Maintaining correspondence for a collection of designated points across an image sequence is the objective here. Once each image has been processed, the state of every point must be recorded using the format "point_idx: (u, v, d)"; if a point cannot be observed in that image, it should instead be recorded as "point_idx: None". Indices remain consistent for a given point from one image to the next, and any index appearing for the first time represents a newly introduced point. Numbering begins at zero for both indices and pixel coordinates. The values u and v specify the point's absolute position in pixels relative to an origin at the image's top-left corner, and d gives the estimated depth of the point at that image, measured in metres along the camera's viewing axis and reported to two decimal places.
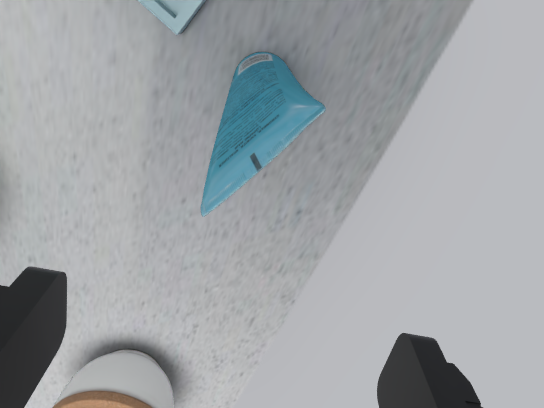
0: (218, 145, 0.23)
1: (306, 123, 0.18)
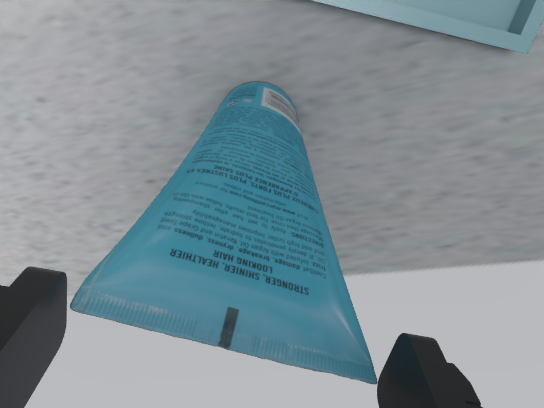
0: (190, 202, 0.13)
1: (340, 370, 0.10)
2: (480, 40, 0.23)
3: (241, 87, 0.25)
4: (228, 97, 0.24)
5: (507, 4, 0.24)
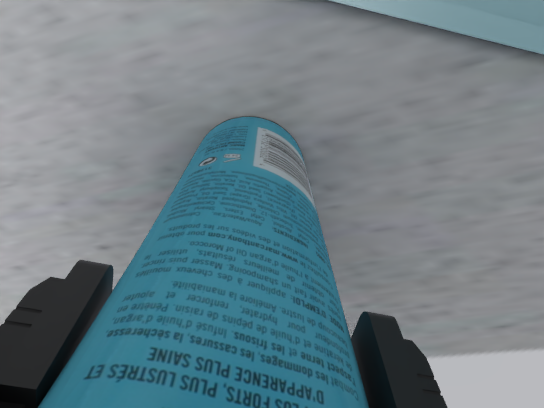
0: None
1: None
2: None
3: (225, 127, 0.17)
4: (205, 143, 0.16)
5: None
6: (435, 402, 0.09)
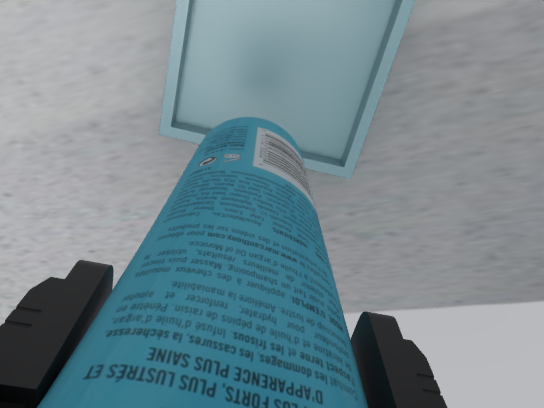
0: None
1: None
2: (316, 170, 0.33)
3: (225, 127, 0.17)
4: (205, 143, 0.16)
5: (338, 142, 0.33)
6: (435, 402, 0.09)
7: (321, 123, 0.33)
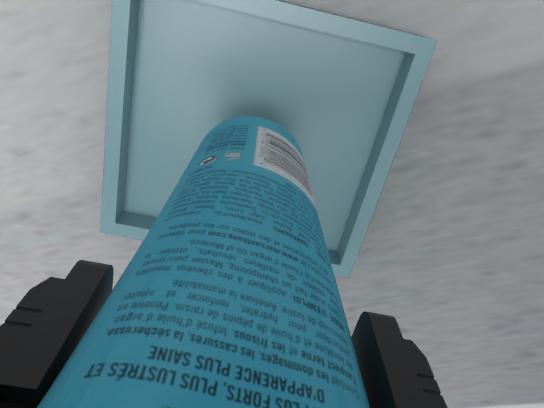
0: None
1: None
2: None
3: (225, 126, 0.17)
4: (206, 142, 0.16)
5: (333, 231, 0.26)
6: (435, 402, 0.09)
7: None
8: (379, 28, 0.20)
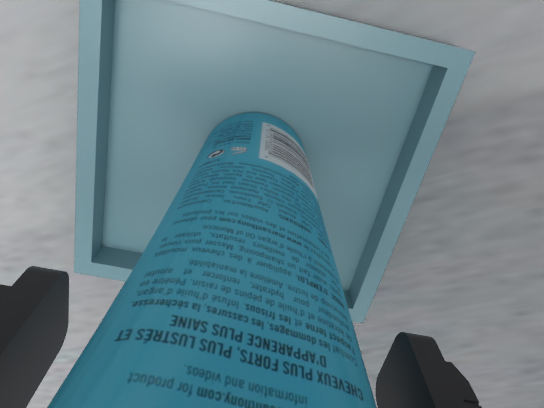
0: None
1: None
2: None
3: (231, 122, 0.18)
4: (212, 137, 0.17)
5: (344, 269, 0.23)
6: None
7: None
8: (405, 37, 0.16)
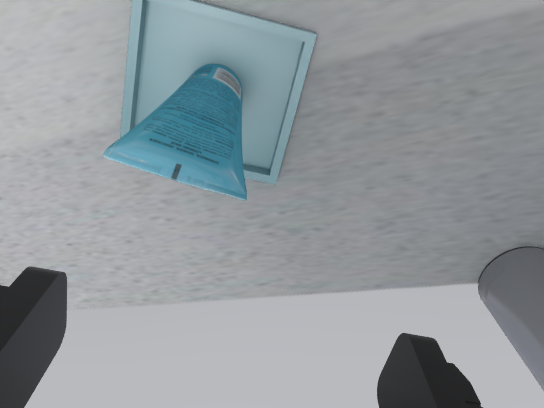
0: (161, 120, 0.24)
1: (228, 193, 0.22)
2: (247, 177, 0.41)
3: (202, 67, 0.36)
4: (193, 73, 0.36)
5: (266, 155, 0.41)
6: None
7: (251, 140, 0.41)
8: (283, 26, 0.35)
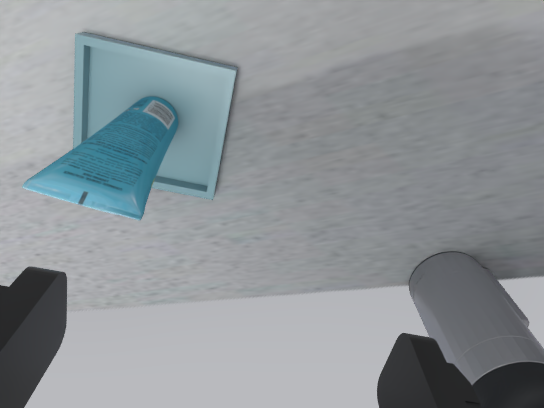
0: (78, 155, 0.30)
1: (125, 214, 0.27)
2: (187, 194, 0.46)
3: (140, 100, 0.42)
4: None
5: (204, 174, 0.47)
6: None
7: (189, 161, 0.46)
8: (206, 65, 0.40)
